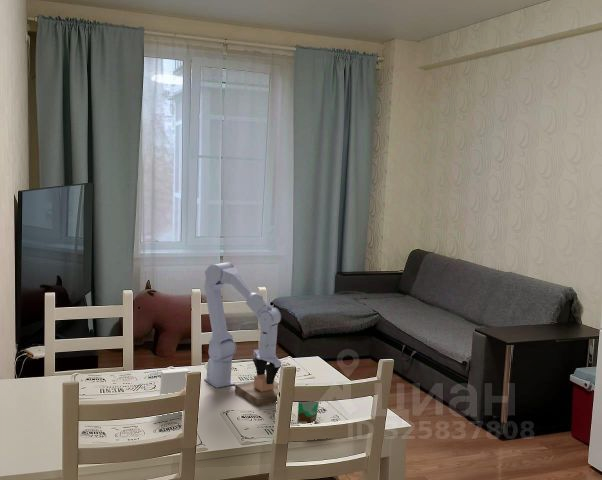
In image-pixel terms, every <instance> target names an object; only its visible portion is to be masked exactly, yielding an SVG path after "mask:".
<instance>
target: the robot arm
mask: <svg viewBox="0 0 602 480" xmlns="http://www.w3.org/2000/svg"><path fill="white" fill-rule="evenodd" d="M204 275H205V281H204V286H203V287H204V292H205V299H206V304H207V310H208V316H209V320H210V321H209V323H210V326H211V333H212V335H211V337H210V339H209V340H208V345H209V346H208V356H209V359H207V363H206V377H204V379H203V380H204V381H206V382H207V383H209V384H210V385H212V386H213V387H215V388H216V389H217V388H223V387H229V386H235V385H236V383H235V382H234V381H233V380H232V379H231V378H232V365H233V357H234V355H235V354H236V352H237V348H238V347H237V343H236V342H235V341H234V338H233V335H232V334H231V333H230V332H229V331H228V326H227V320H226V314H225V308H224V303H223V298H222V293H221V289H222V288H223V287H224V285H225V284H227V285H228V284H229V285H231V286H232V287H233V288H234V289H235V290H237V291H238V293H239V294H241V296H242V297H243V298H244V299H245V300H246V302H245V304H246V306H247V307H249V309H250V310H251V311H252V312H253V313H254V315H255V316H256V317H257V321H258V324H259V327H260V328H259V329H260V333H259V349H254V350H253V354H252V355H253V356H254V357H253V358H252V362H253V364H254V366H255V367H254V368H255V369H256V370H255V371H256V375H262V374H266V381H267V384H273V381H275V378H276V375H277V374H278V372H279V370H280V368H281V367H282V361H281V360H280V359H279V358H278V357H277V355H276V350H277V337H278V326H279V325H278V324H279V323H280V322H281V320H282V314H281V312H280V310H279V309H278V308H277V307H272V305H271V304H269V302H267V301H266V299H265V298H264V295H263V294H260V293H259V292H254V291H253V290H252V289H251V287H250V286H249V285H248V284H247V282H246V281H245V280H244V278H243V277H242V276H241V275H240V274H239V270H238V268H237V267H236V266H235V265H234V264H233V263H232V262H229V261H225V262H221V263H213V264H210V265H209V266H208V267H207V268H206V269H205V270H204ZM268 363H269V364H268Z"/></svg>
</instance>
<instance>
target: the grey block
mask: <svg viewBox="0 0 602 480" xmlns="http://www.w3.org/2000/svg"><path fill="white" fill-rule="evenodd" d="M190 371H191V370H190V369H189V368H187V367H184V368H182V367H181V368H172V369H171V368H170V369H162V370H161V371H160V388H159V389H160V391H159V392H160V393H159V396H160V395H161V394H168V393H175V392H179V391H181V390H182V389H184V387H185V374H186V373H188V372H190ZM190 373H191V372H190Z"/></svg>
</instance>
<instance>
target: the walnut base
mask: <svg viewBox="0 0 602 480" xmlns="http://www.w3.org/2000/svg"><path fill="white" fill-rule="evenodd" d="M279 384H280V383H279V382H277V381H276V380H274V388H273V390H267V391H262V392H261V391H260V390H258V389H256V388H255V387H254V381H249V382H244V383H237V384H235V385H234V386H235V387H234V392H235V393H236V394H238V395H239V396H240V397H242V398H244V399H246V400H247V401H248V402H250V403H252V404H253V405H255V406H256V407H262V406H268V405H272V404H276V403H275V402H276V401H277V395H278V385H279Z"/></svg>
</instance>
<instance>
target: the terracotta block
mask: <svg viewBox="0 0 602 480" xmlns="http://www.w3.org/2000/svg"><path fill="white" fill-rule="evenodd" d="M274 381H275V380H274ZM274 381H273V384H267V381H266V373H265V374H262V375H257V374H256V375H254V379H253V382H254V387H255V388H256V389H258V390H260V391H261V392H262V391H267V390H273V388H274Z"/></svg>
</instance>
